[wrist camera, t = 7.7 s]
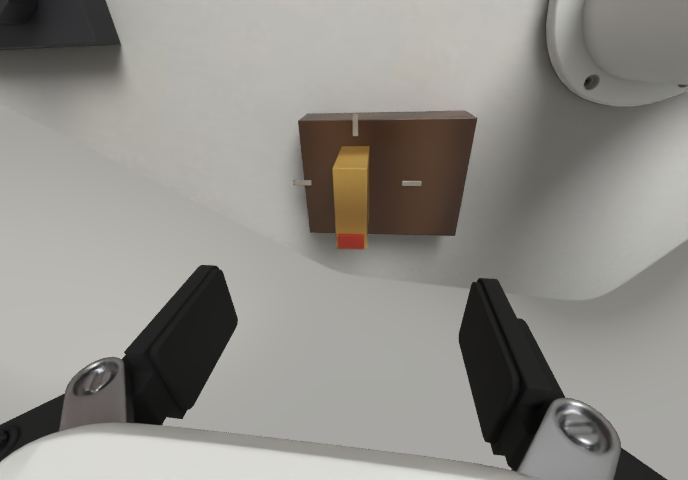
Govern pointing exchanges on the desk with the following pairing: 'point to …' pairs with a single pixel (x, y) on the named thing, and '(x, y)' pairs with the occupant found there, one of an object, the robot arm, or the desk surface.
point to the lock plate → (391, 167)
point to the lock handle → (351, 196)
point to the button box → (55, 24)
